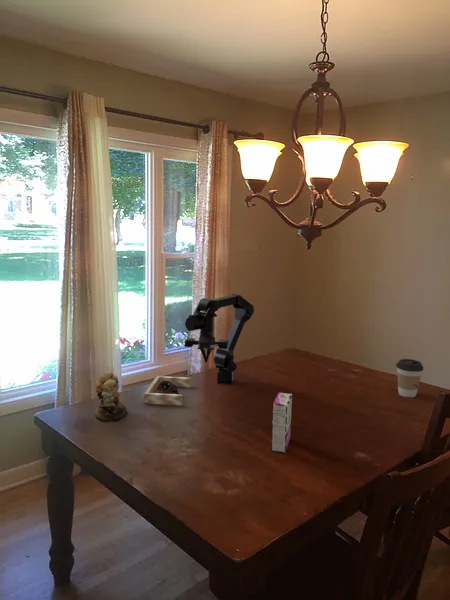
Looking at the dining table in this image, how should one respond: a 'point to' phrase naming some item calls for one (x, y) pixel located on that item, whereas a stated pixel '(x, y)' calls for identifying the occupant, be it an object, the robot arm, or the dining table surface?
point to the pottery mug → (167, 387)
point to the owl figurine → (109, 399)
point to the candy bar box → (281, 422)
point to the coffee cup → (408, 376)
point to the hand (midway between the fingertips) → (206, 362)
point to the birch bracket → (165, 399)
